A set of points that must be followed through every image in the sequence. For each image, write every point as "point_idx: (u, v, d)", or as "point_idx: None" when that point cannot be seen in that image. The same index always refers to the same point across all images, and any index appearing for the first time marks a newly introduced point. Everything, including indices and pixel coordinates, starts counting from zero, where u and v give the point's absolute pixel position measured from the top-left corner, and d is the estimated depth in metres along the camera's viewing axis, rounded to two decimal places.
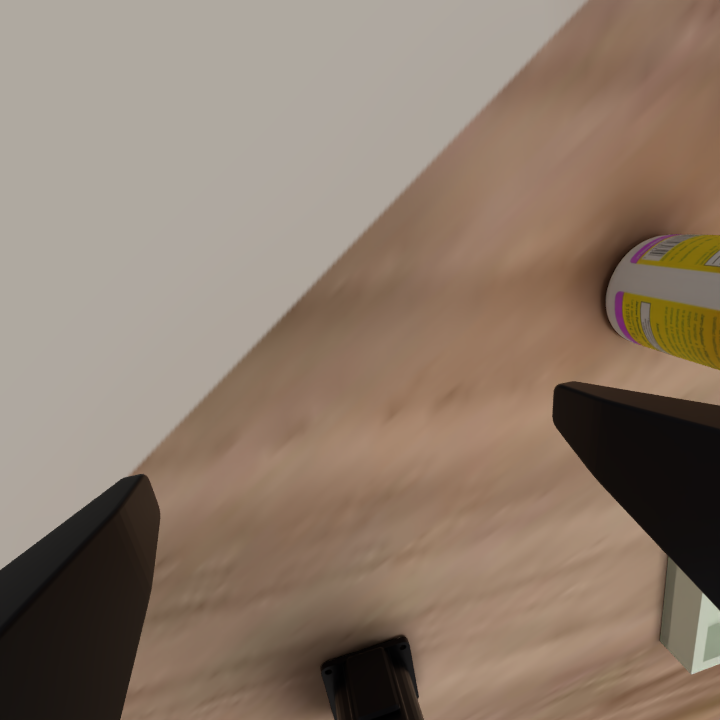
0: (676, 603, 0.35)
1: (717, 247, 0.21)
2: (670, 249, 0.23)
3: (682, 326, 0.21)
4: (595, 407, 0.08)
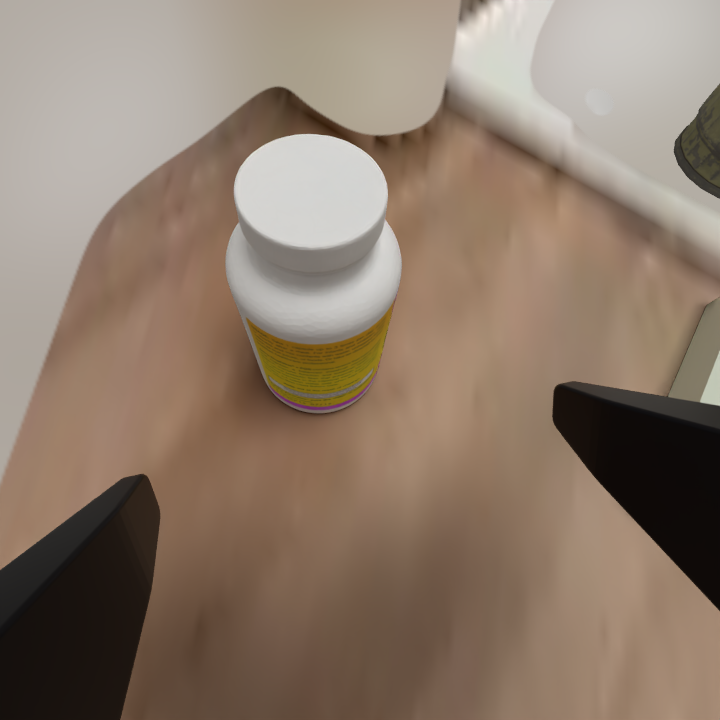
0: None
1: None
2: None
3: (277, 368, 0.18)
4: (595, 407, 0.08)
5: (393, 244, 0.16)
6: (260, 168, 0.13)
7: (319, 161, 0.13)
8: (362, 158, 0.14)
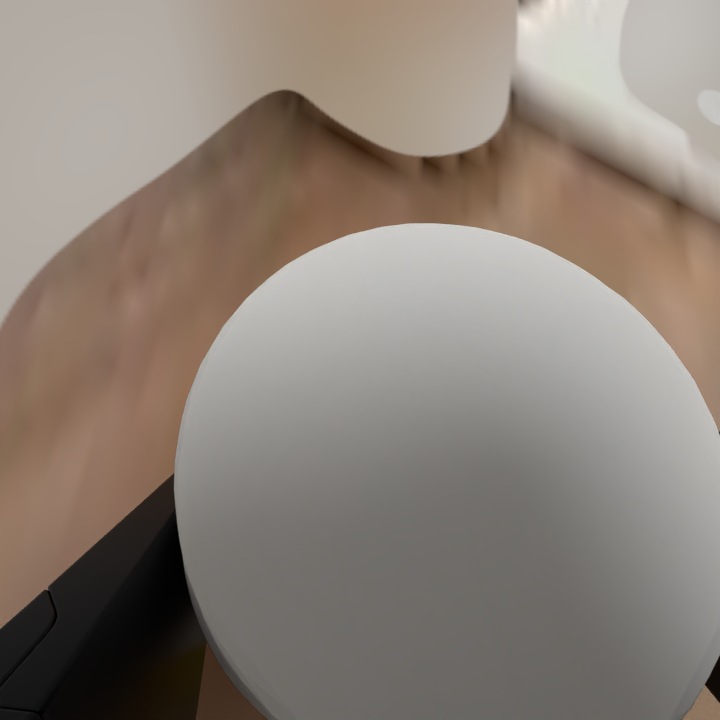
0: None
1: None
2: None
3: None
4: None
5: None
6: (274, 364, 0.04)
7: (470, 325, 0.04)
8: (605, 308, 0.04)
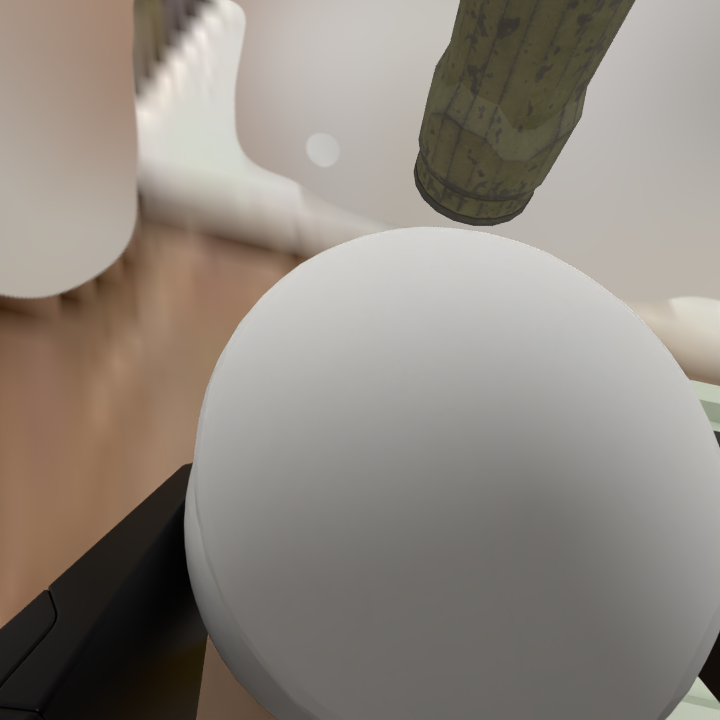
0: None
1: None
2: None
3: None
4: None
5: None
6: (290, 361, 0.04)
7: (479, 326, 0.04)
8: (606, 311, 0.04)
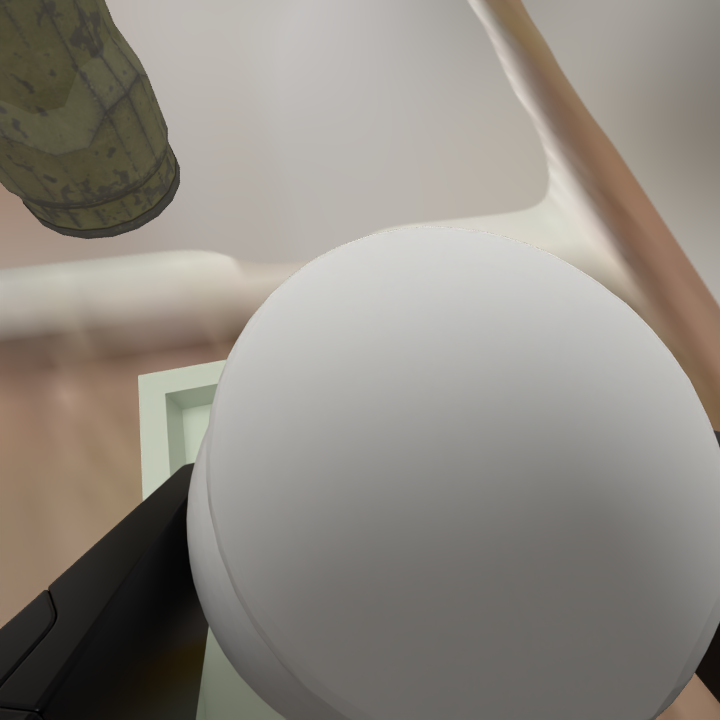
0: None
1: None
2: None
3: None
4: None
5: None
6: (300, 357, 0.04)
7: (485, 324, 0.04)
8: (608, 311, 0.04)
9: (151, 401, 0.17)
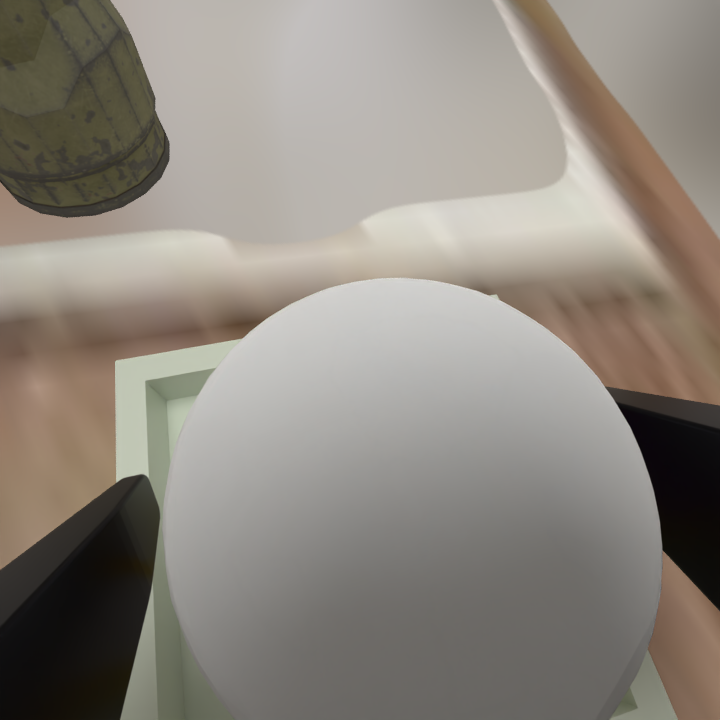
0: None
1: None
2: None
3: None
4: None
5: None
6: (253, 413, 0.04)
7: (431, 375, 0.04)
8: (553, 359, 0.05)
9: (129, 389, 0.15)
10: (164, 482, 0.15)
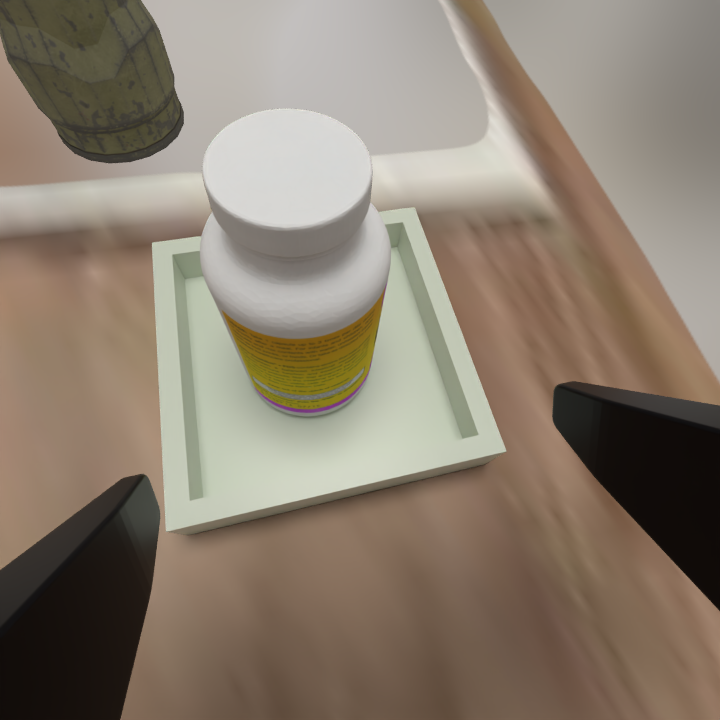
0: (380, 486, 0.20)
1: None
2: None
3: (259, 367, 0.17)
4: (595, 407, 0.08)
5: (382, 230, 0.15)
6: (232, 143, 0.12)
7: (297, 136, 0.12)
8: (345, 133, 0.12)
9: (161, 259, 0.23)
10: (184, 321, 0.23)
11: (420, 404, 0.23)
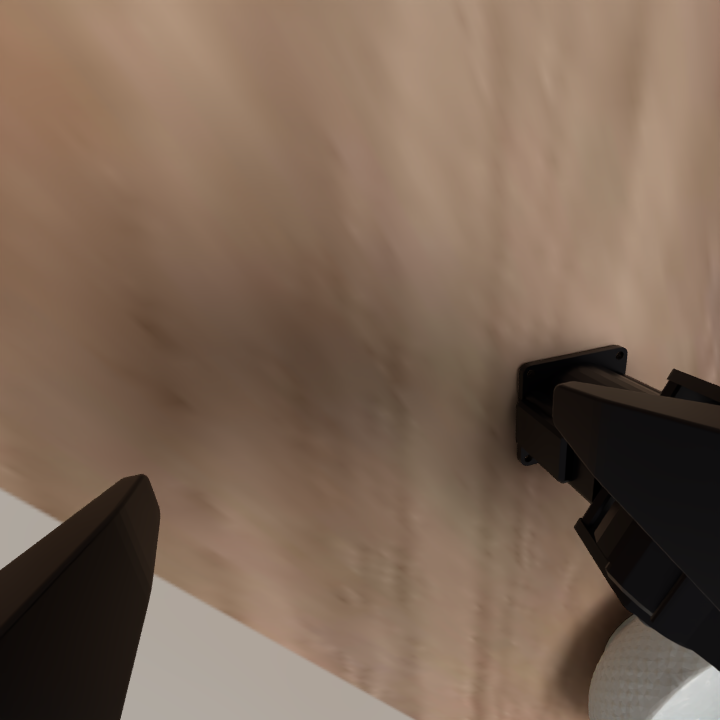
0: None
1: None
2: None
3: None
4: (595, 407, 0.08)
5: None
6: None
7: None
8: None
9: None
10: None
11: None
